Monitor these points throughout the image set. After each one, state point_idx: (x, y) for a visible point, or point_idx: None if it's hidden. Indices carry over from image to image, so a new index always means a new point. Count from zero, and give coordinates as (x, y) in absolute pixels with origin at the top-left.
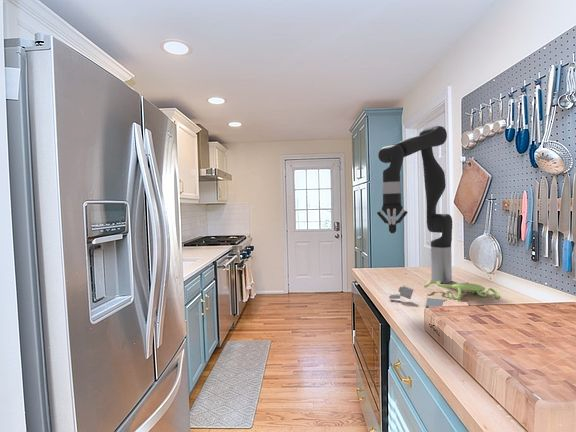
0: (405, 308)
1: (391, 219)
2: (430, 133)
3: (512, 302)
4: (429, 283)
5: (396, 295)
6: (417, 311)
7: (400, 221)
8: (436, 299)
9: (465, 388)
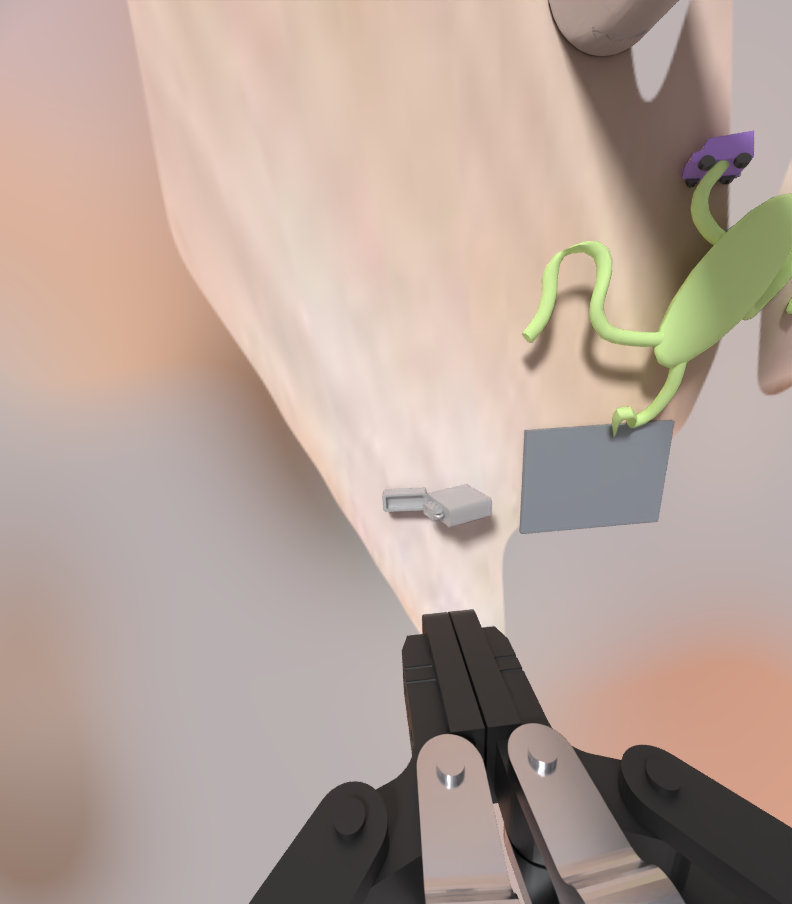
0: (455, 569)
1: (497, 890)
2: None
3: None
4: (553, 304)
5: (414, 510)
6: (495, 581)
7: (686, 787)
8: (560, 440)
9: None
